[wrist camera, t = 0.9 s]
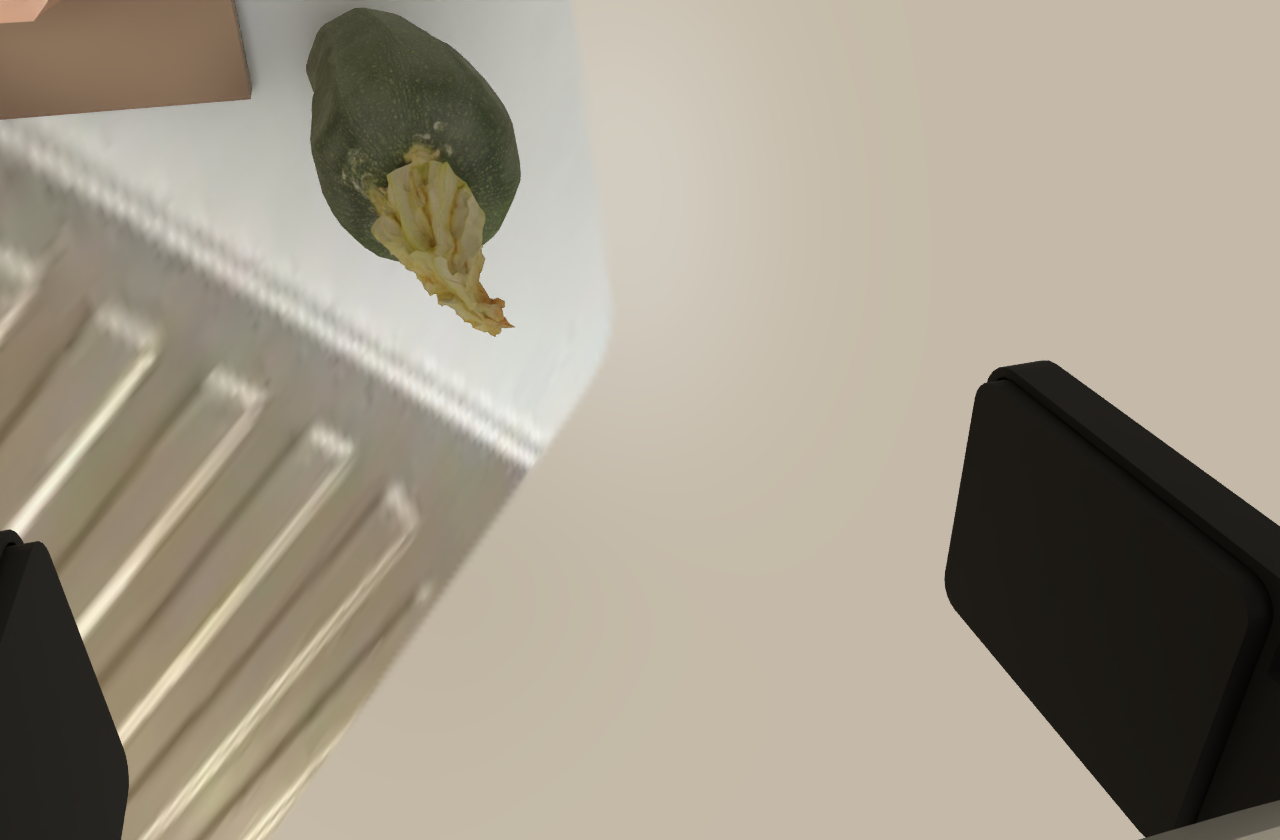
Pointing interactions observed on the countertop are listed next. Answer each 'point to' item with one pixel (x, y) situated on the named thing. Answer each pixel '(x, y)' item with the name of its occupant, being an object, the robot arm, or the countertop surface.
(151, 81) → the stand
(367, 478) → the countertop surface
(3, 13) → the cup
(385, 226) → the vegetable
